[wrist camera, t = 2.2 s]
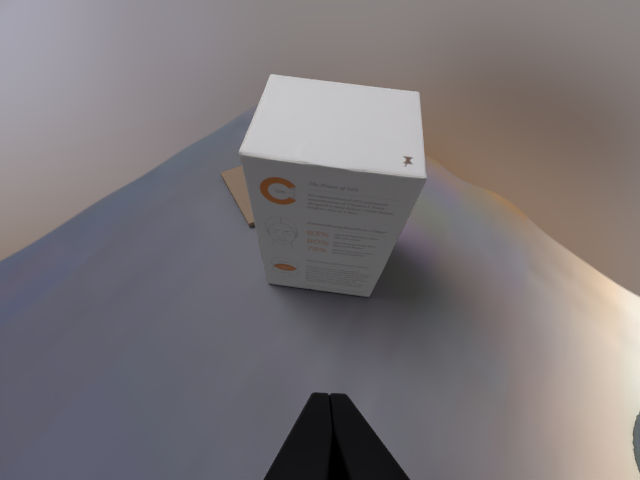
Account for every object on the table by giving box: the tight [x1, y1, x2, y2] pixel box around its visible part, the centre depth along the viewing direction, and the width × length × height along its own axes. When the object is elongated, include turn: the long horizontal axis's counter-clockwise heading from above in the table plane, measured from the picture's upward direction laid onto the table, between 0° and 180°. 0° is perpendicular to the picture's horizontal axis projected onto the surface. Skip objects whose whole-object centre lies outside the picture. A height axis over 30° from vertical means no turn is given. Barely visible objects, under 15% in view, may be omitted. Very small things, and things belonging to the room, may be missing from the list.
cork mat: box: [221, 166, 255, 227], centre depth 30 cm, size 6×12×1 cm, turn 120°
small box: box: [239, 74, 427, 297], centre depth 20 cm, size 8×6×13 cm
